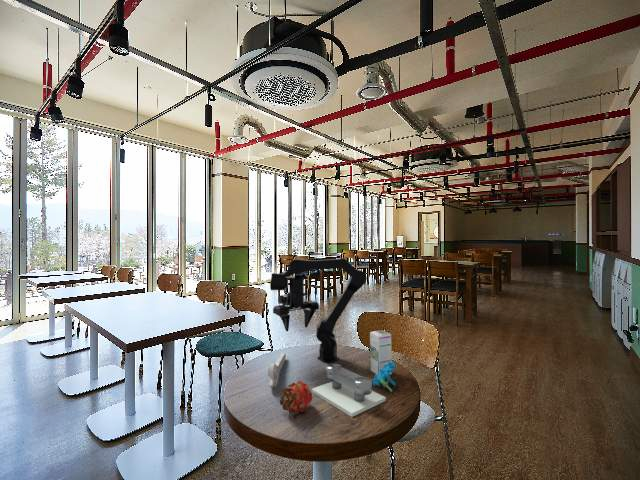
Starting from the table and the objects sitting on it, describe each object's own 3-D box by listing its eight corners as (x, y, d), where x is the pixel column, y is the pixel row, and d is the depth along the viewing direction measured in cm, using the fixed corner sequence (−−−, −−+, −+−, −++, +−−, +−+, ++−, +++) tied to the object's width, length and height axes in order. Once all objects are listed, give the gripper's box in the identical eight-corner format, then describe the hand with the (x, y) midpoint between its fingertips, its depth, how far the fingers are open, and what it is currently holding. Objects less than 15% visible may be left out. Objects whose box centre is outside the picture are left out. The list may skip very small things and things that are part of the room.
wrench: (285, 366, 128) (272, 394, 98) (281, 366, 128) (266, 393, 98) (285, 346, 129) (273, 366, 99) (281, 346, 129) (267, 366, 99)
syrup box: (392, 374, 113) (392, 333, 113) (378, 377, 111) (378, 335, 111) (382, 368, 119) (382, 329, 119) (369, 371, 116) (369, 331, 116)
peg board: (344, 379, 109) (344, 368, 109) (385, 400, 95) (385, 387, 95) (311, 392, 100) (311, 379, 100) (351, 416, 86) (351, 402, 86)
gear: (373, 371, 112) (393, 355, 109) (385, 384, 111) (406, 368, 108) (367, 390, 101) (390, 372, 98) (381, 404, 101) (404, 386, 97)
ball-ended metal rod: (334, 371, 106) (334, 362, 106) (375, 391, 92) (375, 381, 92) (322, 375, 103) (322, 366, 103) (363, 397, 89) (363, 386, 89)
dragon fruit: (285, 428, 83) (299, 411, 95) (311, 411, 82) (322, 396, 94) (269, 398, 86) (285, 385, 97) (294, 381, 85) (307, 370, 96)
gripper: (303, 285, 140) (303, 321, 140) (266, 290, 129) (266, 328, 128) (319, 288, 131) (319, 326, 131) (280, 293, 120) (280, 335, 120)
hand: (296, 329), depth 128 cm, fingers open, 9 cm apart
